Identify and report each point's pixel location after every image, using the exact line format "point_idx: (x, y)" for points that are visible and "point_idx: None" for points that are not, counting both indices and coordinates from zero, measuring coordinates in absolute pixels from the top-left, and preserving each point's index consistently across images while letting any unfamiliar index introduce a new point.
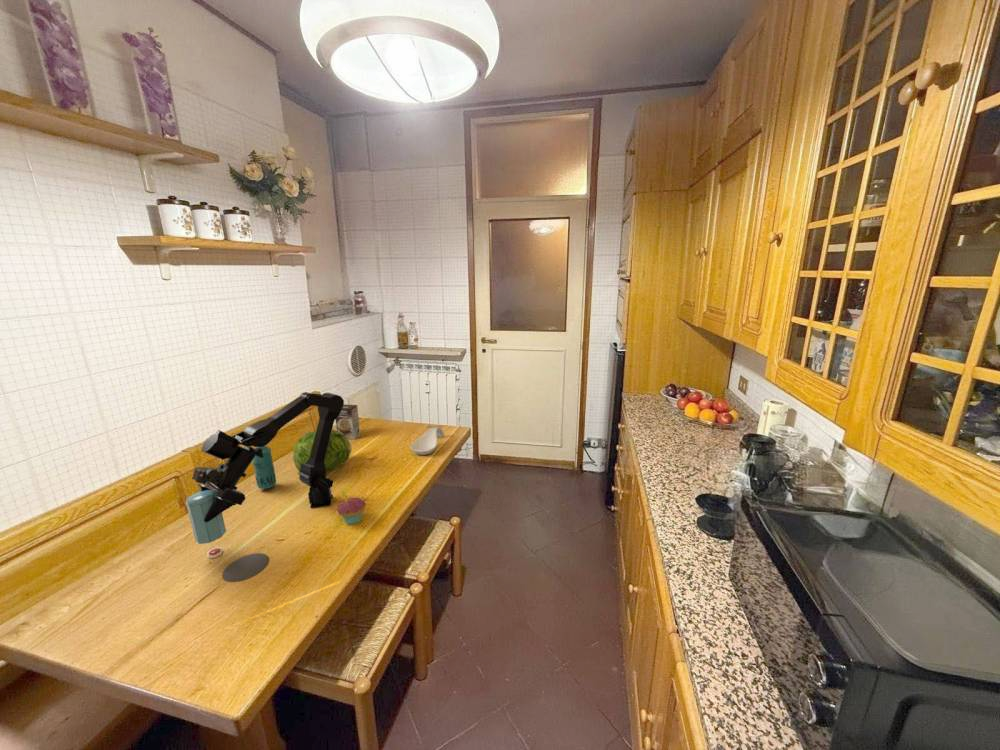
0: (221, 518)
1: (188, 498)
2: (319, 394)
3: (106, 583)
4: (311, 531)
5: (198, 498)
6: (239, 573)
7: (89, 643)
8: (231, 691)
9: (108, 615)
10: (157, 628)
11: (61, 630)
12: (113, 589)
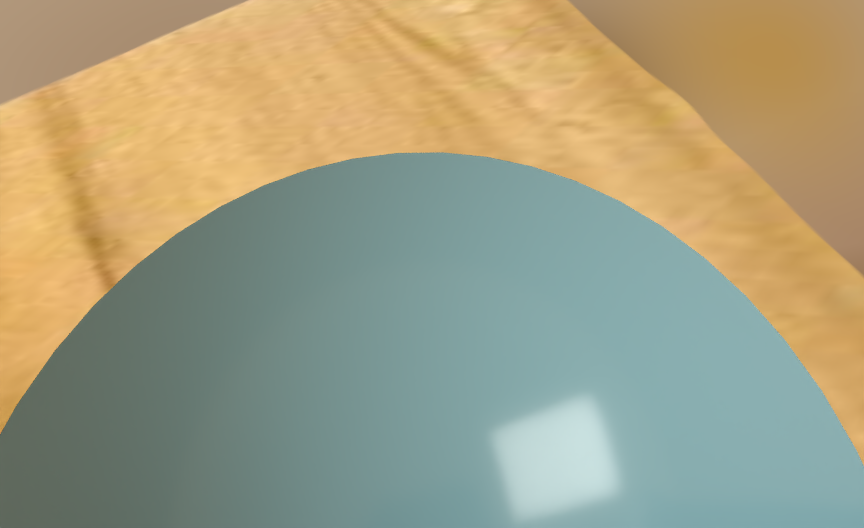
0: None
1: (553, 206)
2: None
3: (525, 77)
4: None
5: (326, 443)
6: None
7: (225, 55)
8: None
9: (322, 86)
10: (112, 189)
11: (354, 6)
12: (468, 93)
